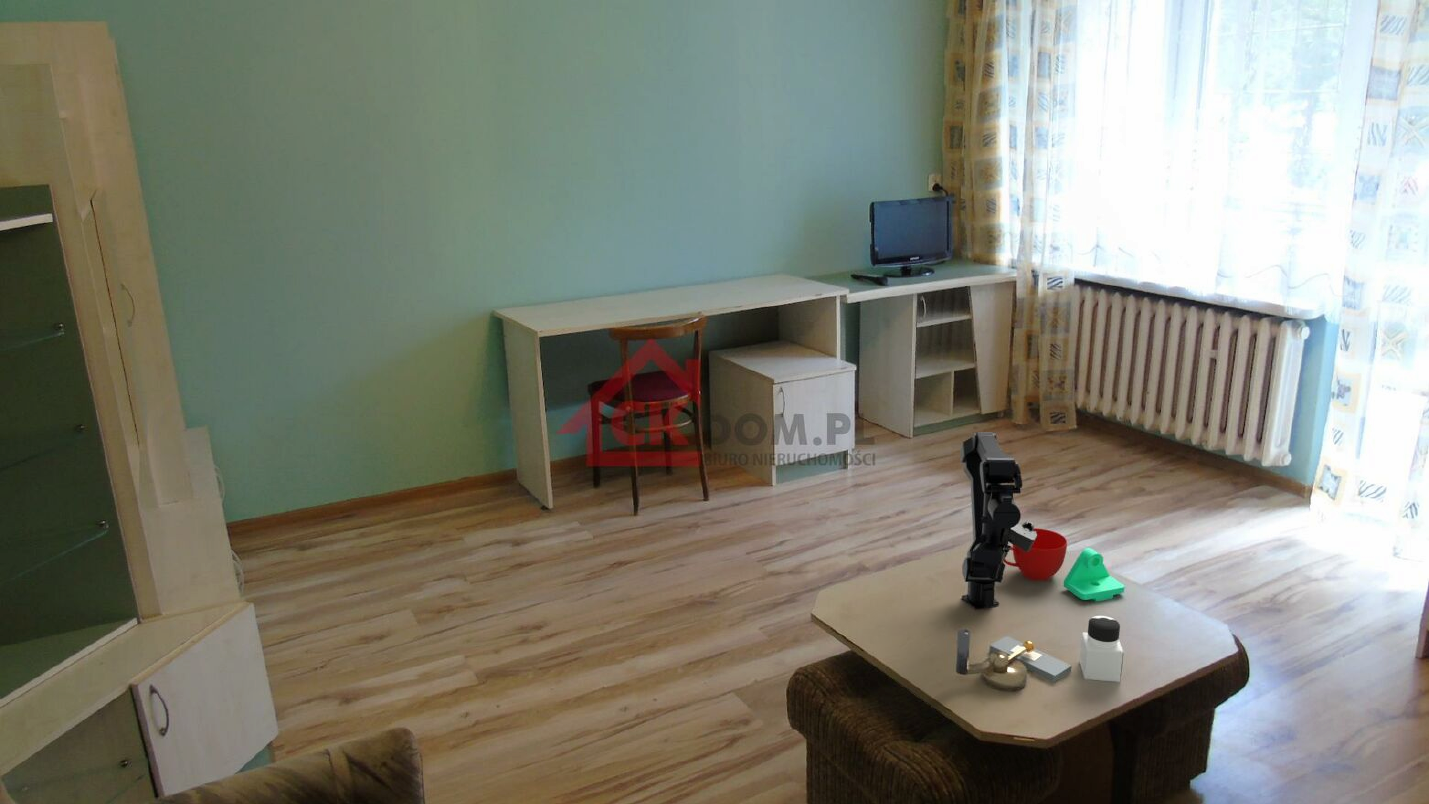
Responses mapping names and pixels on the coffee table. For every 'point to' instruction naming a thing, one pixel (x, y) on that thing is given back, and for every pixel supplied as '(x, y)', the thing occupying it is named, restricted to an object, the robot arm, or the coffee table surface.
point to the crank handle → (993, 665)
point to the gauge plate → (1034, 659)
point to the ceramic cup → (1041, 556)
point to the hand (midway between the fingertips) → (993, 578)
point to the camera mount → (1091, 578)
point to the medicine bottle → (1101, 650)
